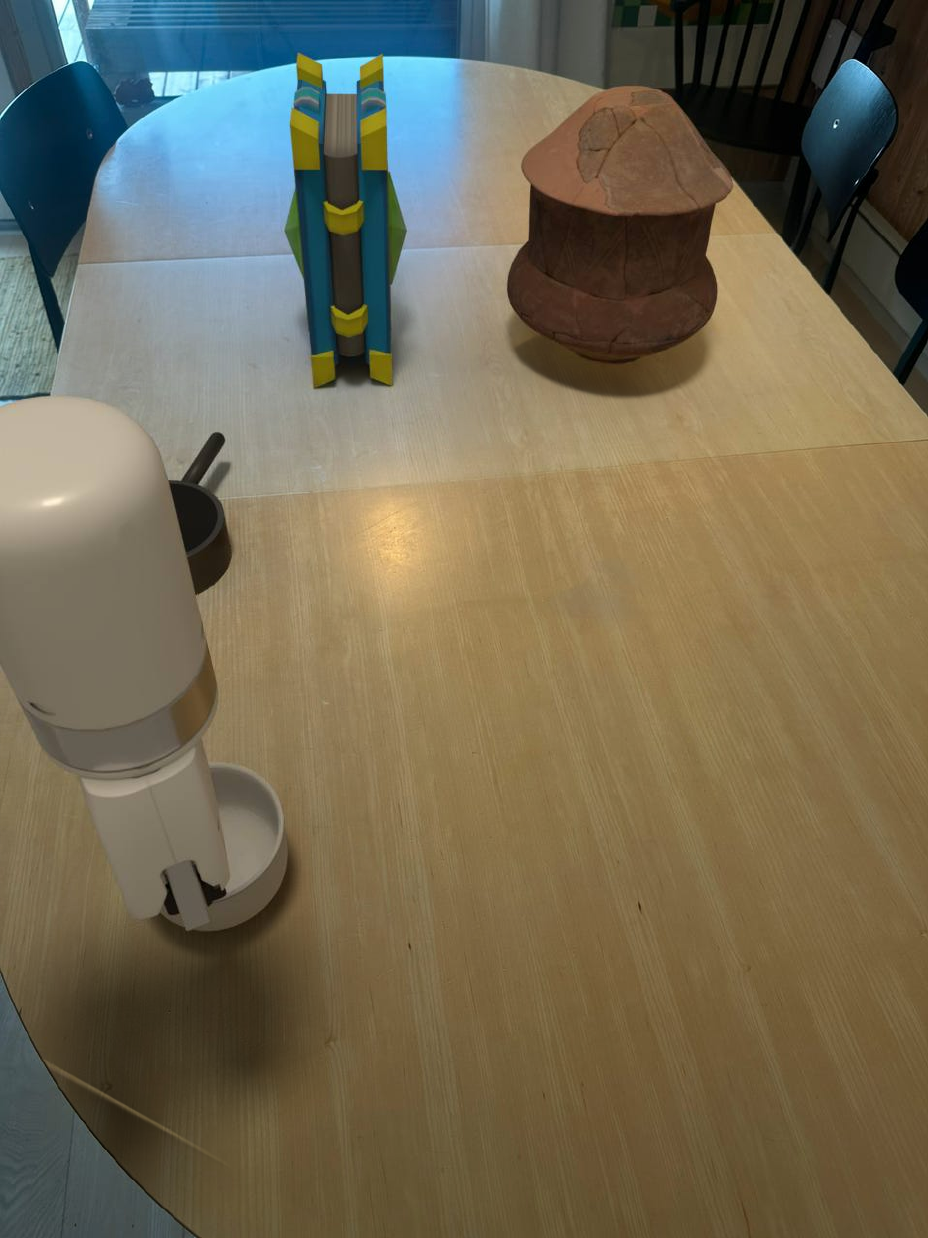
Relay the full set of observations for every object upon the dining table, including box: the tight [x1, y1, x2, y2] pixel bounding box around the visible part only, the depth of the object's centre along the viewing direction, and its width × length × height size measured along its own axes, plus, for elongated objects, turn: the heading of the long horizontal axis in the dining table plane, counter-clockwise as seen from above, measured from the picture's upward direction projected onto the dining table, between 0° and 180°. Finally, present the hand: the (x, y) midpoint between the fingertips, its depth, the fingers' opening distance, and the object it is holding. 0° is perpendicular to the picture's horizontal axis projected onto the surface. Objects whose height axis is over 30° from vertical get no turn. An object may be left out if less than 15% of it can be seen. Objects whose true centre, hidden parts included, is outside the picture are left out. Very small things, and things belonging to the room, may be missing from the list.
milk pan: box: [168, 431, 232, 596], centre depth 96 cm, size 12×21×5 cm, turn 168°
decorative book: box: [283, 52, 408, 389], centre depth 112 cm, size 14×23×30 cm, turn 4°
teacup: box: [159, 761, 289, 932], centre depth 70 cm, size 14×11×8 cm
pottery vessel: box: [506, 85, 734, 365], centre depth 113 cm, size 26×26×30 cm
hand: (194, 891), depth 53 cm, fingers closed
